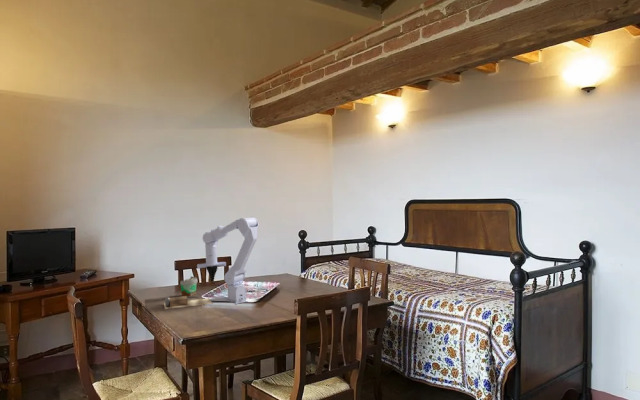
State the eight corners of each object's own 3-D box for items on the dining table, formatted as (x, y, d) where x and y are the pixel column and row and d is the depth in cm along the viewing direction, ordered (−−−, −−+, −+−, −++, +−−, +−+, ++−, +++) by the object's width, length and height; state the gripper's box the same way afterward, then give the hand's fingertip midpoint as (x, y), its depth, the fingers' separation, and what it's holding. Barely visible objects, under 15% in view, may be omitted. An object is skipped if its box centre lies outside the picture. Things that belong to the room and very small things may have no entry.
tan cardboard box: (186, 302, 227) (186, 296, 227) (187, 304, 221) (187, 298, 221) (169, 304, 224) (169, 297, 224) (170, 306, 218) (170, 300, 218)
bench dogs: (169, 304, 224) (169, 296, 224) (170, 306, 218) (170, 299, 218) (165, 304, 223) (164, 297, 223) (165, 307, 217) (165, 300, 217)
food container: (191, 300, 237) (190, 281, 236) (180, 300, 238) (179, 280, 238) (202, 294, 249) (201, 276, 248) (191, 294, 250) (191, 276, 250)
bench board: (209, 301, 234) (209, 298, 234) (212, 306, 223) (212, 303, 223) (163, 306, 225) (163, 303, 225) (165, 312, 214) (165, 309, 214)
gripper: (224, 252, 244) (224, 278, 244) (196, 255, 239) (197, 280, 239) (226, 254, 238) (227, 280, 238) (197, 256, 232) (198, 283, 233)
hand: (212, 280), depth 238 cm, fingers closed
